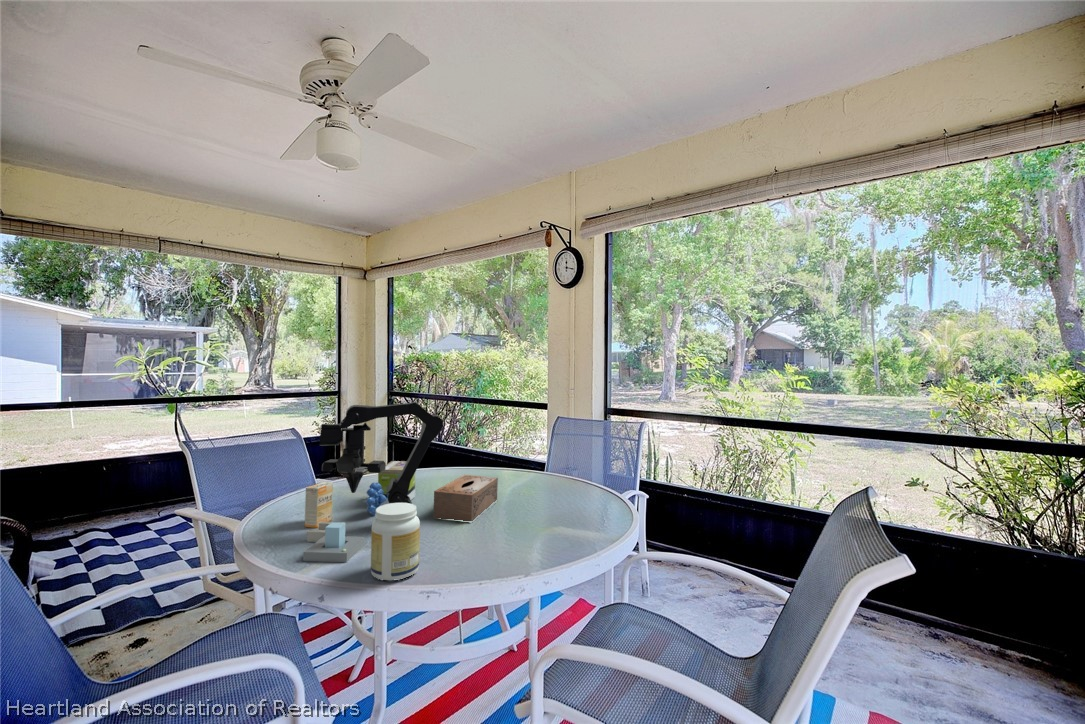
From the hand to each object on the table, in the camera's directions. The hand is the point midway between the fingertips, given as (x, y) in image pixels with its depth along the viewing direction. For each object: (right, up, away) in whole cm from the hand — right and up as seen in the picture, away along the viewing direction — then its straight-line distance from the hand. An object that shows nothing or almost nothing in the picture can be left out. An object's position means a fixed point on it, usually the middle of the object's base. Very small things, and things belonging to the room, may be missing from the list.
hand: (353, 492), depth 152 cm
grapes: (+2, -13, +16) cm, 21 cm away
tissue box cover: (+33, -14, +25) cm, 43 cm away
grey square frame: (-6, -12, -5) cm, 15 cm away
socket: (+1, -13, -17) cm, 21 cm away
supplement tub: (+22, -13, -28) cm, 38 cm away
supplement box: (-14, -12, +6) cm, 20 cm away
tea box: (+4, -13, +32) cm, 35 cm away
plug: (+1, -13, -17) cm, 21 cm away
